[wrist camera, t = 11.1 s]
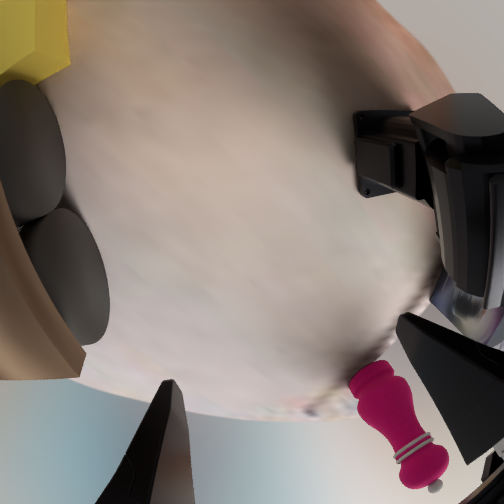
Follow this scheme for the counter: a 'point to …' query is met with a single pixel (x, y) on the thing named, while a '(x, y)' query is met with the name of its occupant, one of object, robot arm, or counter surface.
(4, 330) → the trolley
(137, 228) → the counter surface
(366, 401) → the pepper mill
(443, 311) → the small box
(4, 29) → the block
